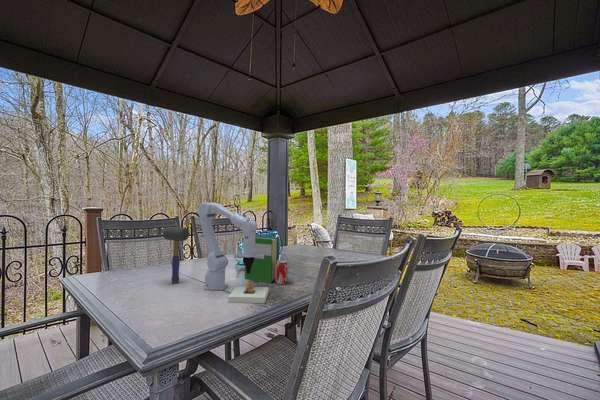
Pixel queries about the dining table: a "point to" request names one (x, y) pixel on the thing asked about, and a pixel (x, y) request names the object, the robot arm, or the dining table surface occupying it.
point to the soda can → (281, 272)
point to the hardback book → (264, 260)
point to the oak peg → (249, 287)
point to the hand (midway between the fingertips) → (248, 273)
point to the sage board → (248, 295)
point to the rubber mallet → (175, 247)
